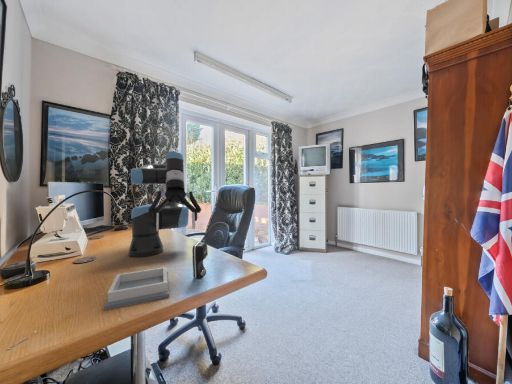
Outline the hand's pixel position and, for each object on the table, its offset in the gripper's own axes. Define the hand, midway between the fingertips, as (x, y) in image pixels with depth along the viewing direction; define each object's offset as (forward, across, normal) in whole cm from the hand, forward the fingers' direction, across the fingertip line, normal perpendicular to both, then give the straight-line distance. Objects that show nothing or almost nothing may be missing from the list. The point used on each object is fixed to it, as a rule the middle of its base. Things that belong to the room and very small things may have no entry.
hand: (176, 229), depth 87 cm
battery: (+19, +8, -3) cm, 21 cm away
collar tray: (+21, -11, -5) cm, 24 cm away
